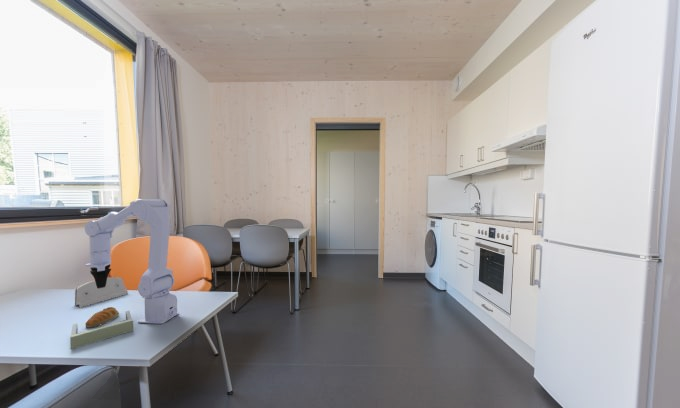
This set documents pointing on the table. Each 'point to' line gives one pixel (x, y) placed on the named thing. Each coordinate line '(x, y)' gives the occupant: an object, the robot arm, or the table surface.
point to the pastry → (102, 317)
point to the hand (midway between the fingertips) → (101, 285)
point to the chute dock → (100, 332)
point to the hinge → (99, 291)
